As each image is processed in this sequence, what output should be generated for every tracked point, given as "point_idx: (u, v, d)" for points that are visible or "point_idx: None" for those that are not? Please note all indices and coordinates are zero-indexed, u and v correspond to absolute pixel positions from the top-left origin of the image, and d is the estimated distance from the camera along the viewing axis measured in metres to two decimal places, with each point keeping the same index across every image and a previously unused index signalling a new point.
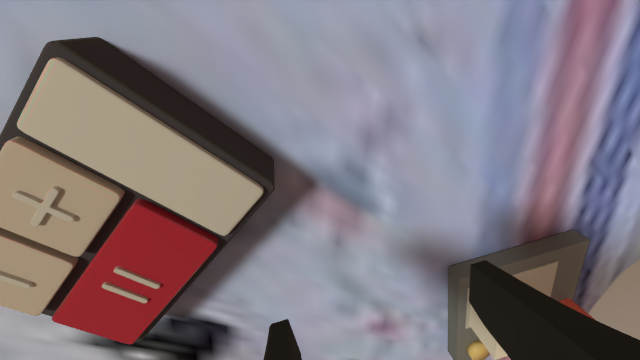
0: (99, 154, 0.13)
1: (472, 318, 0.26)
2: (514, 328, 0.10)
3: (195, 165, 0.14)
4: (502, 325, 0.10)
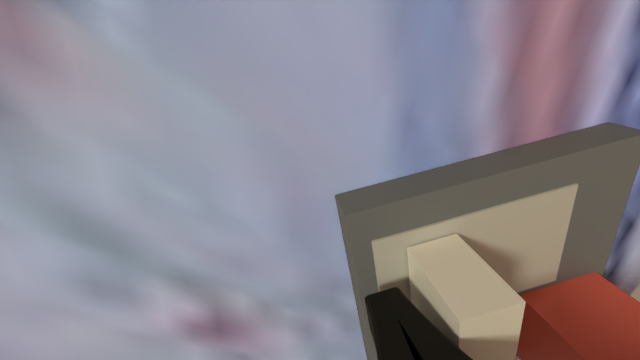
0: None
1: (414, 303, 0.12)
2: None
3: None
4: None
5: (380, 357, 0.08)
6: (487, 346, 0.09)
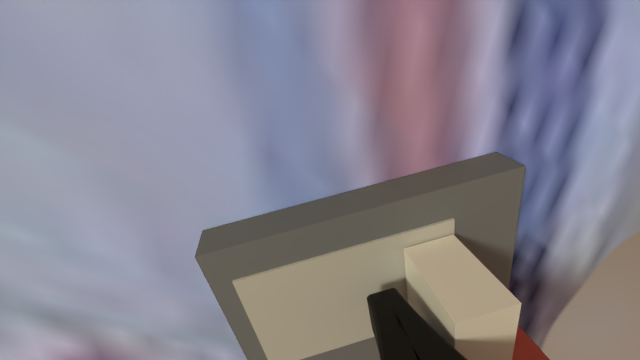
0: None
1: (411, 304, 0.12)
2: None
3: None
4: None
5: (383, 356, 0.08)
6: (484, 347, 0.09)
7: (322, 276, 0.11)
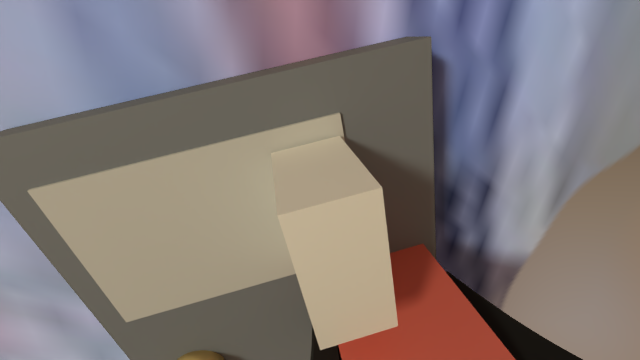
0: None
1: None
2: None
3: None
4: None
5: None
6: (341, 264, 0.06)
7: (163, 190, 0.08)
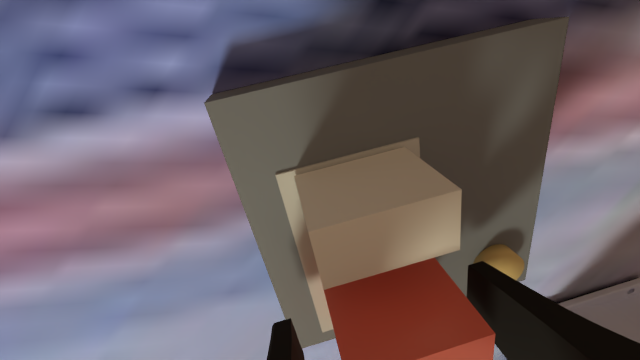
0: None
1: None
2: (511, 329, 0.10)
3: None
4: (499, 326, 0.10)
5: None
6: (373, 247, 0.08)
7: None
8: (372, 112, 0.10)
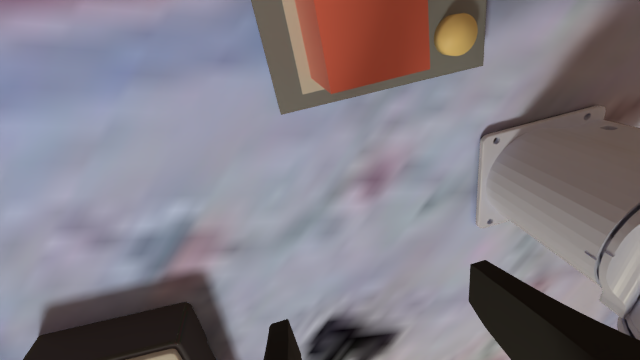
0: None
1: None
2: (514, 328, 0.10)
3: None
4: (502, 325, 0.10)
5: None
6: None
7: None
8: None
